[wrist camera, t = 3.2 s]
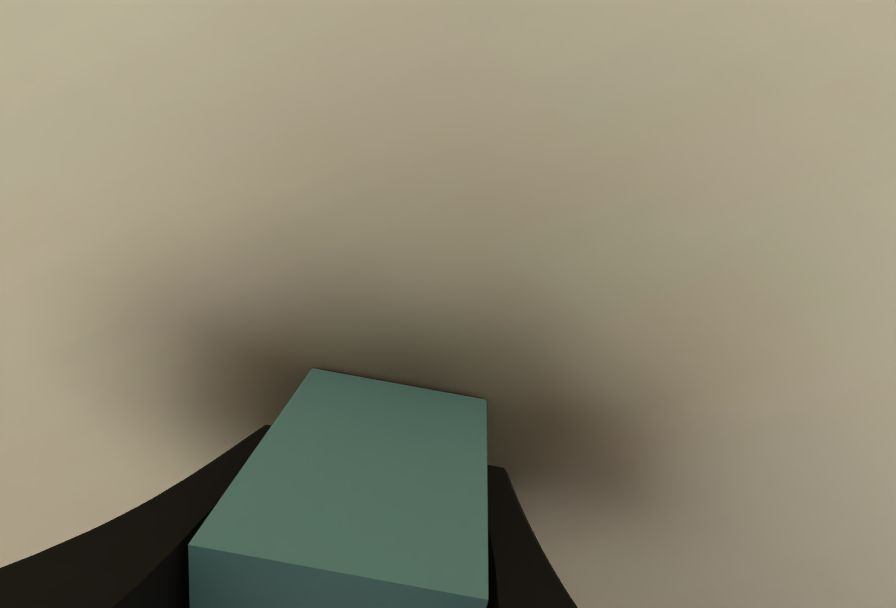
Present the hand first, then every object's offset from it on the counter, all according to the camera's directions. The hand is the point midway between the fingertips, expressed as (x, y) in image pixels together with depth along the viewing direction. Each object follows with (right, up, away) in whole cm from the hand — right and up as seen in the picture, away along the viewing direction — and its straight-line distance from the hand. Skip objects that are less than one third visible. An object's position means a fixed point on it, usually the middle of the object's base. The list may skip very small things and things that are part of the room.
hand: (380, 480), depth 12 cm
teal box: (0, 0, +2) cm, 2 cm away
